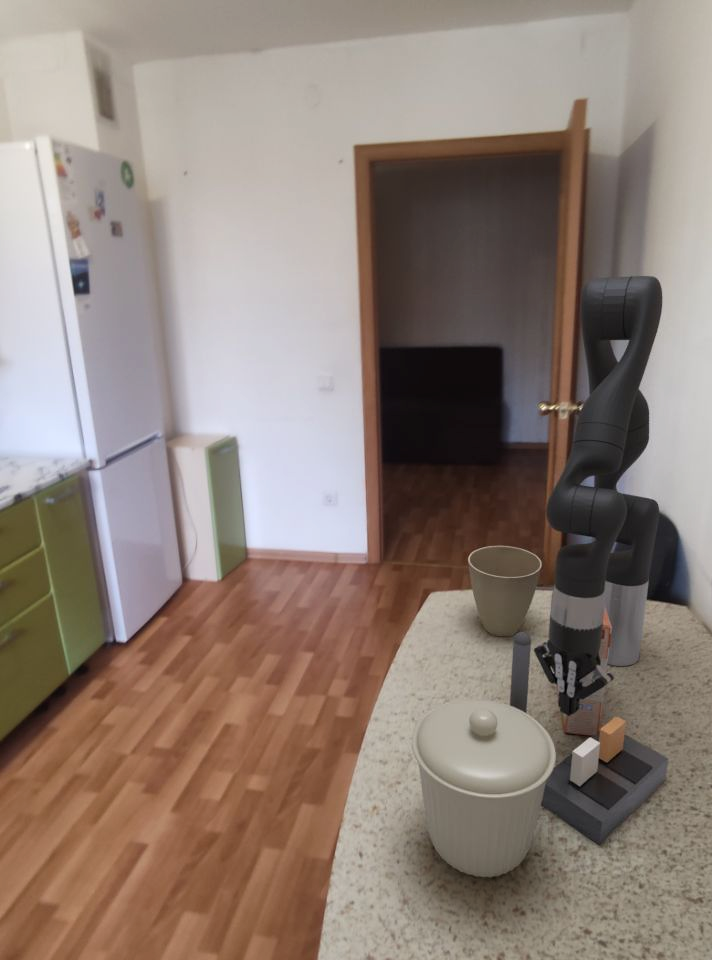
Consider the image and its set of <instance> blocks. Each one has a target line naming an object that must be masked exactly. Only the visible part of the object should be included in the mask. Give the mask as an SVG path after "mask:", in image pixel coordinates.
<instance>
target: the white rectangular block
mask: <svg viewBox="0 0 712 960" xmlns="http://www.w3.org/2000/svg"><path fill="white" fill-rule="evenodd" d="M591 737H592V736H589V737H588V738H587V739H586V740H585V741H584V742H582V743H581V744H580V745H578V747H576V748H575V749H574V750H572V752H571V753H572V763H571V773H570V780H571V781H572V782H574V783H575V784H577V785H578V786H581V785H582V784H583V783H584V782H585V781H587V780H588V779H589V778H590V777H591V776H592V775H594V774H595V773H596V772H597V768H598V759H599V750H600V743H599V742H598V741H596V740H594V739H593V738H591Z"/></svg>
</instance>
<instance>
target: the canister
mask: <svg viewBox="0 0 712 960" xmlns="http://www.w3.org/2000/svg"><path fill="white" fill-rule="evenodd" d="M411 748H412V753H413V755H414V758H415V761H417V763H418V768H419V769H418V771H419V777H420V785H421V786H420V787H421V795H422V799H423V800H422V801H423V808H424V809H423V810H424V814H425V820H426V827H427V832H428V835H429V837H430V841H431V844H432V845H433V846H434V849H435V851H436V852H437V853H438V854H439V855H440V857H441V859H442V860H444V861H445V862H446V864H447V865H450V866H451V867H452V868H453V869H456V870H458V871H459V872H460V873H464V874H466V875H468V876H474V877H479V878H480V877H481V878H487V877H488V878H493V877H499V876H501V875H506V874H508V872H511V871H513V870H514V869H515V868H517V867H518V866H520V864H521V862H522V861H524V859H525V858H526V857H527V853H528V852H529V850H530V849H531V848H530V847H531V844H532V843H533V842H532V841H533V837H534V834H535V830H536V826H537V823H538V819H539V816H540V815H539V814H540V810H541V806H542V805H541V802H542V798H543V793H544V789H545V785H546V780H547V779H548V778H549V776H550V775H551V773H552V771H553V769H554V767H555V765H556V758H557V755H556V749H555V748H556V747H555V743H554V741H553V739H552V737H551V735H550V734H549V732H548V731H547V730H546V728H544V726H542V724H540V722H539V721H537V720H536V719H535V718H534V717H533V716H532V715H530V714H529V713H527V712H526V713H525V712H523V711H521V710H519V709H517V708H515V707H513V706H510V704H506V703H503V702H501V701H500V702H499V701H495V700H491V699H483V698H482V699H481V698H463V699H457V700H451V701H447V702H444V703H442V704H438V705H437V706H435V707H433V708H431V709H429V710H428V711H427V712H426V713H425V714H424V715H423V716H422V717H421V718H420V719H419V720H418V721H417V723H416V724H415V726H414V728H413V732H412V735H411Z"/></svg>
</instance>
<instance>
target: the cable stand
mask: <svg viewBox="0 0 712 960" xmlns="http://www.w3.org/2000/svg"><path fill="white" fill-rule="evenodd" d="M531 646H532V639H531V637H530V635H529V634H528V633H527V632H523V631H519V632H517V633H515V634H514V636H513V643H512V657H511V658H512V660H511V661H512V662H511V678H510V694H509V696H510V697H509V705H510V706H513V707H515V708H517V709H519V710H521V711H523V712H525V713H527V708H528V706H527V705H528V694H529V679H530V678H529V676H530V662H531V660H530V659H531V650H532V649H531V648H532V647H531Z"/></svg>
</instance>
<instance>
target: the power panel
mask: <svg viewBox="0 0 712 960" xmlns="http://www.w3.org/2000/svg"><path fill="white" fill-rule="evenodd" d="M599 735H600V730H599V732H598V733H596V734H595V735H594V736H590V737H591V738H593V739H594V740H596V741H598V742H599ZM571 763H572V752H571V753H570V754H569V755H568V756H567V757H565V758H564V759H563V760H562V761H560V762H559V763H558V764H557V765H556V766H554V769H553V771H552V773H551V775H550V776H549V778H548V779H547V780H546V785H545V789H544V793H543V798H542V802H541V806H543V807H544V808H545V809H547V810H548V811H550V812H551V813H553V815H555V816H556V817H558V818H559V819H561V820H562V821H564V822H565V823H567V824H568V825H569V826H571V827H572V828H574V830H576V831H578V832H579V833H581V834H582V835H584V836H585V837H586V838H588V839H589V840H591V841H592V842H594V843H595V844H596V845H597V846H601V845H602V843H604V842H605V841H606V840H607V839H608V838H609V837H610V836H611V835H612V834H613V833H614V832H615V831H616V830H617V829H618V828H619V827H620V826H621V824H623V823H624V822H625V821H626V820H627V819H628V818H629V817H630V816H631V815H632V814H634V813H635V811H636V810H637V809H638V808H639V807H640V806H641V805H642V804H643V803H644V802H645V801H646V800H648V798H649V797H650V796H651V795H652V794H653V793H654V792H655V791H656V790H657V789H658V788H659V787H660V786H661V785H662V784H663V783H664V782H665V781H666V777H667V771H668V766H669V758H668V757H667V756H665V755H663V754H662V753H659V752H658V751H656V750H654V749H652V748H650V747H649V746H648V745H644V744H643V743H641V742H639V741H637V740H636V739H634V738H632V737H630V736H629V735H626V734H625V735H624V743H623V749H622V750H621V751H620V752H619V753H618V754H617V755H615V756H614V757H613V758H612V759H611V760H610V761H608V762H607V763H606V762H605V761H603V760H601V759H600V758H599V759H598V768H597V772H596V773H595V774H594V775H592V776H591V777H590V778H589V779H588V780H587V781H585V782H584V783H583V784H582V785H581V786H578V785H577V784H575V783H574V782H572V781H571V780H570V773H571Z"/></svg>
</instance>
